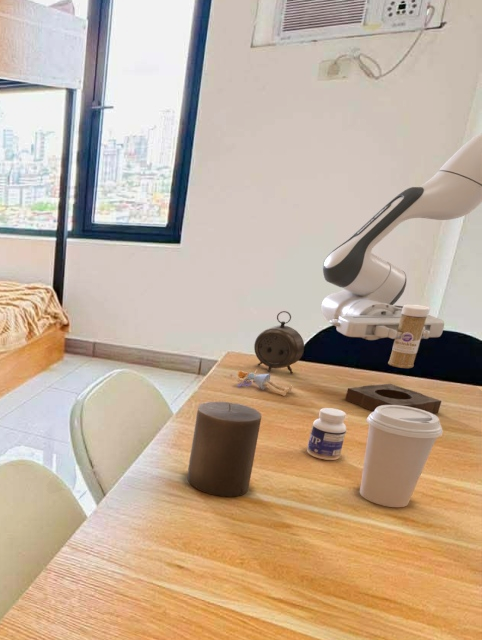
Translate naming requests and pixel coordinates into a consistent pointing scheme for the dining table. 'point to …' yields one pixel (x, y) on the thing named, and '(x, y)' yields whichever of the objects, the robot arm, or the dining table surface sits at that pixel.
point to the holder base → (391, 397)
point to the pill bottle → (327, 434)
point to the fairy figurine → (263, 382)
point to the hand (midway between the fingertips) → (412, 335)
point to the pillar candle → (223, 448)
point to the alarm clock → (279, 346)
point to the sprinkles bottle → (409, 335)
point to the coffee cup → (396, 453)
